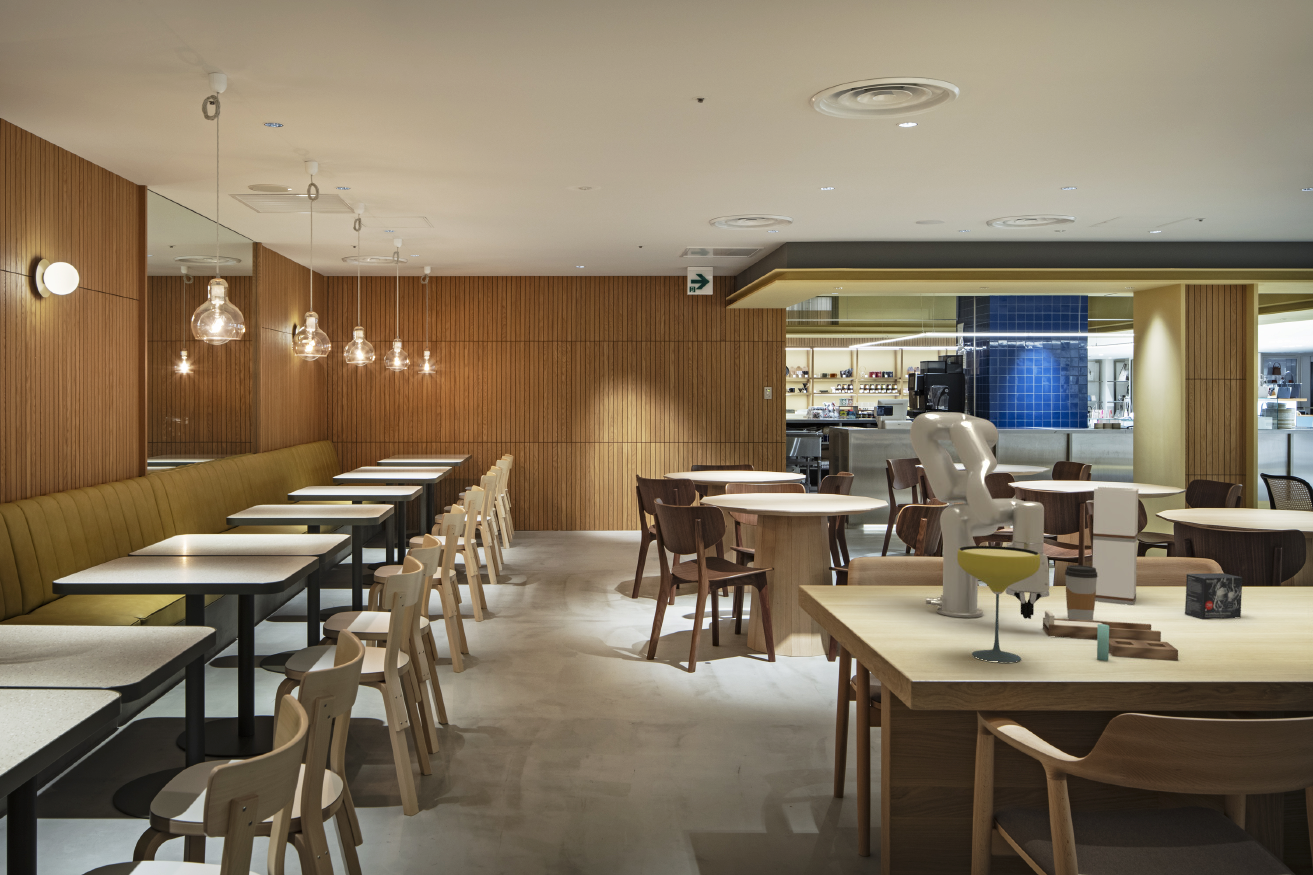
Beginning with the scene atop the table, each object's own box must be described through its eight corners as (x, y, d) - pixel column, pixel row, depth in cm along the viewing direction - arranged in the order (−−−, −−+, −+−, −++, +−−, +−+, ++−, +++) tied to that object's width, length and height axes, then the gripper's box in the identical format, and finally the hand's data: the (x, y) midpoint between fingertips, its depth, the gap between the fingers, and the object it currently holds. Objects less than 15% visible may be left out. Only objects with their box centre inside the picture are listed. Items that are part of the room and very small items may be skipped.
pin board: (1112, 655, 210) (1112, 645, 210) (1103, 647, 218) (1104, 637, 218) (1177, 660, 207) (1178, 650, 207) (1167, 651, 215) (1167, 641, 215)
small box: (1203, 619, 251) (1203, 577, 251) (1184, 614, 258) (1184, 573, 258) (1242, 618, 254) (1243, 576, 254) (1222, 613, 261) (1223, 572, 260)
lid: (1048, 627, 230) (1048, 615, 230) (1043, 622, 236) (1044, 610, 236) (1107, 631, 227) (1107, 618, 227) (1101, 625, 233) (1101, 613, 233)
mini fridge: (1136, 599, 279) (1138, 488, 278) (1133, 605, 270) (1135, 490, 269) (1095, 595, 285) (1098, 486, 285) (1091, 600, 276) (1094, 488, 276)
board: (1049, 636, 229) (1049, 624, 229) (1042, 628, 238) (1043, 617, 238) (1160, 643, 223) (1160, 631, 223) (1149, 635, 231) (1150, 623, 231)
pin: (1098, 660, 206) (1099, 626, 206) (1095, 657, 208) (1096, 623, 208) (1109, 661, 206) (1110, 626, 205) (1107, 658, 208) (1107, 624, 208)
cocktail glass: (995, 671, 196) (997, 558, 196) (939, 651, 213) (941, 547, 212) (1056, 663, 203) (1058, 554, 203) (996, 644, 220) (998, 544, 219)
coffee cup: (1100, 624, 243) (1101, 570, 243) (1068, 623, 245) (1069, 569, 244) (1092, 618, 251) (1093, 565, 251) (1060, 616, 253) (1061, 564, 252)
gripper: (999, 549, 232) (998, 618, 232) (1061, 551, 228) (1060, 622, 229) (996, 545, 239) (995, 613, 240) (1055, 547, 236) (1054, 616, 236)
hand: (1026, 617), depth 234 cm, fingers closed
